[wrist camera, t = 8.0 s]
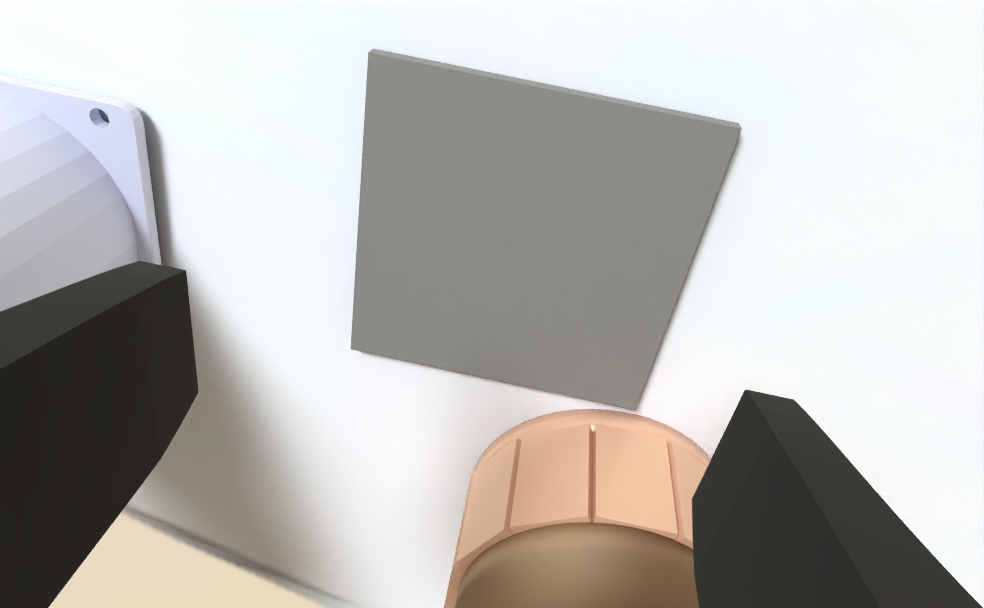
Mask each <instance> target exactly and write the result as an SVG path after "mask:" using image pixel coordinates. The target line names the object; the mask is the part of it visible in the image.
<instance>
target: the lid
mask: <svg viewBox="0 0 984 608" xmlns="http://www.w3.org/2000/svg"><path fill="white" fill-rule="evenodd" d="M455 608H699V603H698V597H697V590H696V583H695V576H694V560H693V549H692V548H690V547H689V546H686V545H684V544H682V543H680V542H678V541H675V540H673V539H671V538H668V537H665V536H662V535H660V534H657V533H654V532H650V531H646V530H642V529H638V528H634V527H629V526H623V525H616V524H608V523H592V522H583V523H563V524H554V525H547V526H543V527H538V528H533V529H529V530H526V531H523V532H520V533H517V534H514V535H512V536H510V537H507V538H505V539H503V540H501V541H499V542H497V543H496V544H494V545H492V546H491V547H489V548H488V549H486V550H485V551H484V552H483V553H481V554H480V555H479V556H478V557H477V558H476V559H475V560H474V561H473V562H472V563H471V565H470V566H469V567H468V568H467V570H466V572H465V574H464V575H463V577H462V579H461V583H460V586H459V589H458V594H457V599H456V605H455Z"/></svg>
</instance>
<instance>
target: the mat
mask: <svg viewBox="0 0 984 608" xmlns="http://www.w3.org/2000/svg"><path fill="white" fill-rule="evenodd" d="M740 131H741V127H740V125H739V123H734V122H729V121H725V120H720V119H715V118H710V117H705V116H700V115H695V114H690V113H685V112H680V111H676V110H671V109H666V108H661V107H656V106H651V105H646V104H641V103H636V102H631V101H627V100H622V99H617V98H612V97H607V96H602V95H597V94H592V93H587V92H582V91H578V90H573V89H568V88H563V87H558V86H553V85H548V84H543V83H538V82H533V81H529V80H524V79H519V78H514V77H509V76H504V75H499V74H494V73H489V72H484V71H480V70H475V69H470V68H465V67H460V66H455V65H450V64H445V63H440V62H435V61H431V60H426V59H421V58H416V57H411V56H406V55H401V54H396V53H391V52H386V51H382V50H377V49H372V50H371V51H370V52H369V53H368V70H367V86H366V103H365V120H364V136H363V153H362V170H361V187H360V203H359V220H358V237H357V254H356V270H355V287H354V304H353V321H352V337H351V349H352V350H357V351H362V352H366V353H371V354H376V355H380V356H385V357H390V358H394V359H399V360H404V361H408V362H413V363H418V364H422V365H427V366H432V367H436V368H441V369H446V370H450V371H455V372H460V373H464V374H469V375H474V376H478V377H483V378H488V379H492V380H497V381H502V382H507V383H511V384H516V385H521V386H525V387H530V388H535V389H539V390H544V391H549V392H553V393H558V394H563V395H567V396H572V397H577V398H581V399H586V400H591V401H595V402H600V403H605V404H609V405H614V406H619V407H623V408H628V409H633V410H635V409H636V406H637V403H638V401H639V398H640V396H641V393H642V390H643V388H644V385H645V382H646V380H647V377H648V374H649V372H650V369H651V366H652V364H653V361H654V359H655V356H656V353H657V351H658V348H659V345H660V343H661V340H662V337H663V335H664V332H665V329H666V327H667V324H668V321H669V319H670V316H671V314H672V311H673V308H674V306H675V303H676V300H677V298H678V295H679V292H680V290H681V287H682V284H683V282H684V279H685V277H686V274H687V271H688V269H689V266H690V263H691V261H692V258H693V255H694V253H695V250H696V247H697V245H698V242H699V240H700V237H701V234H702V232H703V229H704V226H705V224H706V221H707V218H708V216H709V213H710V210H711V208H712V205H713V203H714V200H715V197H716V195H717V192H718V189H719V187H720V184H721V181H722V179H723V176H724V173H725V171H726V168H727V166H728V163H729V160H730V158H731V155H732V152H733V150H734V147H735V144H736V142H737V139H738V136H739V134H740Z"/></svg>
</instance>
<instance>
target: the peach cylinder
mask: <svg viewBox="0 0 984 608" xmlns="http://www.w3.org/2000/svg"><path fill="white" fill-rule="evenodd" d="M710 461H711V458H710V457H709V456H708V455H707V454H706V452H705V451H703V450H702V449H701V448H700V447H699V446H698V445H697V444H696V443H695V442H693V441H692V440H690V439H689V438H687V437H686V436H685V435H683V434H682V433H680V432H678V431H676V430H674V429H672V428H671V427H669V426H667V425H665V424H662V423H660V422H657V421H654V420H652V419H649V418H646V417H642V416H638V415H635V414H631V413H625V412H619V411H613V410H600V409H581V410H569V411H562V412H555V413H551V414H547V415H543V416H539V417H537V418H534V419H531V420H529V421H526V422H524V423H522V424H520V425H518V426H516V427H514V428H512V429H510V430H509V431H507V432H506V433H504V434H503V435H501V436H500V437H499V438H497V439H496V440H495V441H494V442H493V443H492V444H491V445H490V446H489V447H488V448H487V449H486V450H485V452H484V453H483V454H482V456H481V457H480V459H479V461H478V462H477V464H476V466H475V468H474V471H473V474H472V477H471V481H470V486H469V491H468V496H467V500H466V505H465V510H464V514H463V519H462V524H461V529H460V533H459V538H458V543H457V548H456V553H455V557H454V562H453V567H452V572H451V576H450V581H449V586H448V591H447V595H446V600H445V605H444V608H455V605H456V599H457V594H458V589H459V586H460V583H461V579H462V577H463V575H464V574H465V572H466V570H467V568H468V567H469V566H470V565H471V563H472V562H473V561H474V560H475V559H476V558H477V557H478V556H479V555H480V554H481V553H483V552H484V551H485V550H486V549H488V548H489V547H491V546H492V545H494V544H496V543H497V542H499V541H501V540H503V539H505V538H507V537H510V536H512V535H514V534H517V533H520V532H523V531H526V530H529V529H533V528H538V527H543V526H547V525H554V524H563V523H583V522H592V523H608V524H616V525H623V526H629V527H634V528H638V529H642V530H646V531H650V532H654V533H657V534H660V535H662V536H665V537H668V538H671V539H673V540H675V541H678V542H680V543H682V544H684V545H686V546H689V547H690V548H692V549H693V536H692V497H693V495H694V493H695V491H696V489H697V487H698V485H699V483H700V481H701V479H702V477H703V475H704V473H705V471H706V469H707V467H708V465H709V463H710Z"/></svg>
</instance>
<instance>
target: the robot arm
mask: <svg viewBox="0 0 984 608" xmlns="http://www.w3.org/2000/svg"><path fill="white" fill-rule="evenodd" d="M99 109H100V110H102V111H104V112H105V114H106V115H107V116H108V119H109V123H107V122H105V121H104V120H103V119H102V118H101V116H100V114H99ZM197 394H198V383H197V374H196V364H195V354H194V344H193V335H192V325H191V315H190V306H189V296H188V286H187V276H186V270H181V269H177V268H172V267H167V266H163V265H162V264H161V256H160V248H159V241H158V233H157V225H156V217H155V209H154V201H153V193H152V185H151V177H150V169H149V161H148V153H147V145H146V137H145V129H144V122H143V118H142V115H141V113H140V112H139V111H138V109H137V108H136V107H135V106H134V105H133V104H131V103H130V102H128V101H125V100H122V99H117V98H113V97H108V96H103V95H98V94H93V93H88V92H84V91H79V90H74V89H69V88H64V87H59V86H55V85H50V84H45V83H40V82H35V81H31V80H26V79H21V78H16V77H11V76H6V75H2V74H0V608H48V607H49V606H50V604H51V603H52V602H53V601H54V599H55V598H56V597H57V595H58V594H59V592H60V591H61V590H62V589H63V587H64V586H65V585H66V584H67V582H68V581H69V580H70V578H71V577H72V575H73V574H74V573H75V572H76V570H77V569H78V567H79V566H80V565H81V564H82V562H83V561H84V560H85V559H86V557H87V556H88V555H89V553H90V552H91V551H92V549H93V548H94V547H95V545H96V544H97V543H98V541H99V540H100V539H101V538H102V536H103V535H104V534H105V532H106V531H107V530H108V528H109V527H110V526H111V524H112V523H113V522H114V521H115V519H116V518H117V517H118V515H119V514H120V513H121V511H122V510H123V509H124V507H125V506H126V505H127V503H128V502H129V501H130V499H131V498H132V497H133V495H134V494H135V493H136V491H137V490H138V489H139V487H140V486H141V485H142V483H143V482H144V481H145V479H146V478H147V477H148V475H149V474H150V473H151V471H152V470H153V468H154V467H155V466H156V464H157V463H158V462H159V460H160V459H161V457H162V456H163V454H164V452H165V451H166V449H167V447H168V446H169V444H170V442H171V440H172V439H173V437H174V435H175V434H176V432H177V430H178V429H179V427H180V425H181V423H182V421H183V419H184V418H185V416H186V414H187V412H188V410H189V408H190V407H191V405H192V403H193V401H194V399H195V397H196V395H197ZM692 536H693V560H694V576H695V583H696V590H697V597H698V603H699V608H983V607H982V606H981V605H980V604H979V603H978V602H977V601H976V600H975V599H974V598H973V597H972V596H971V595H970V594H969V593H968V592H967V591H966V590H965V589H964V588H963V587H962V586H961V585H960V584H959V583H958V582H957V580H956V579H955V578H954V577H953V576H952V575H951V574H950V573H949V572H948V571H947V570H946V569H945V568H944V567H943V565H942V564H941V563H940V562H939V561H938V560H937V559H936V558H935V557H934V556H933V555H932V554H931V553H930V551H929V550H928V549H927V548H926V547H925V546H924V545H923V544H922V543H921V542H920V540H919V539H918V538H917V537H916V536H915V535H914V534H913V533H912V532H911V530H910V529H909V528H908V527H907V526H906V525H905V524H904V523H903V522H902V520H901V519H900V518H899V517H898V516H897V515H896V514H895V513H894V511H893V510H892V509H891V508H890V507H889V506H888V505H887V503H886V502H885V501H884V500H883V499H882V498H881V497H880V496H879V494H878V493H877V492H876V491H875V490H874V489H873V488H872V486H871V485H870V484H869V483H868V482H867V481H866V480H865V478H864V477H863V476H862V475H861V474H860V473H859V471H858V470H857V469H856V468H855V467H854V466H853V465H852V463H851V462H850V461H849V460H848V459H847V458H846V457H845V455H844V454H843V453H842V452H841V451H840V450H839V448H838V447H837V446H836V445H835V444H834V443H833V442H832V440H831V439H830V438H829V437H828V436H827V435H826V434H825V433H824V431H823V430H822V429H821V428H820V427H819V426H818V425H817V424H816V422H815V421H814V420H813V419H812V418H811V417H810V416H809V415H808V414H807V413H806V412H805V411H804V410H803V409H802V408H801V407H800V405H799V404H798V403H797V402H796V401H795V400H793V399H788V398H783V397H778V396H774V395H769V394H764V393H760V392H755V391H750V390H745V391H744V393H743V395H742V397H741V399H740V401H739V403H738V406H737V408H736V410H735V412H734V414H733V416H732V418H731V420H730V422H729V424H728V426H727V428H726V430H725V432H724V434H723V436H722V438H721V440H720V442H719V444H718V446H717V448H716V450H715V453H714V455H713V457H712V459H711V461H710V463H709V465H708V467H707V469H706V471H705V473H704V475H703V477H702V479H701V481H700V483H699V485H698V487H697V489H696V491H695V493H694V495H693V497H692Z"/></svg>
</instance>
